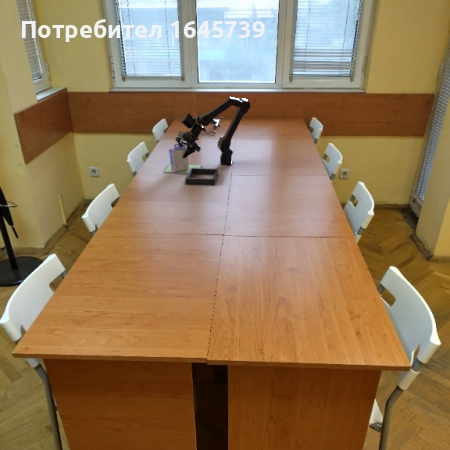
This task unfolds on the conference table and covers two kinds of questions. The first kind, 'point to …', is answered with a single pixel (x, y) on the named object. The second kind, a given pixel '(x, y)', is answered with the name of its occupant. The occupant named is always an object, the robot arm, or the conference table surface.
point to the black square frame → (201, 180)
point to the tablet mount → (215, 123)
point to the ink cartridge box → (178, 159)
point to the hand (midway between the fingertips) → (180, 156)
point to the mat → (168, 170)
